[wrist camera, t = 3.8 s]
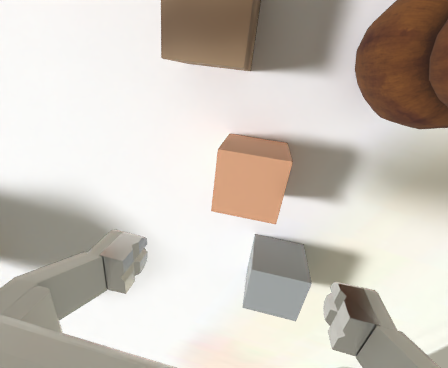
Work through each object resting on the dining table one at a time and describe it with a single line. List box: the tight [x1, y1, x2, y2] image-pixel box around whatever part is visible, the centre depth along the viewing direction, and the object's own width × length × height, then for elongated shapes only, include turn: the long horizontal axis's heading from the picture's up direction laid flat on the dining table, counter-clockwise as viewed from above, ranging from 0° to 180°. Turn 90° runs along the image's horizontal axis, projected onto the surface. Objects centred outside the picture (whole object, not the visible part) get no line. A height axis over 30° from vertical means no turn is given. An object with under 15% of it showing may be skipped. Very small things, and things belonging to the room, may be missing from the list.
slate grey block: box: [243, 234, 312, 321], centre depth 22 cm, size 5×5×5 cm
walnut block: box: [161, 0, 261, 71], centre depth 14 cm, size 5×5×5 cm
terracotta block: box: [211, 134, 293, 224], centre depth 18 cm, size 5×5×5 cm
